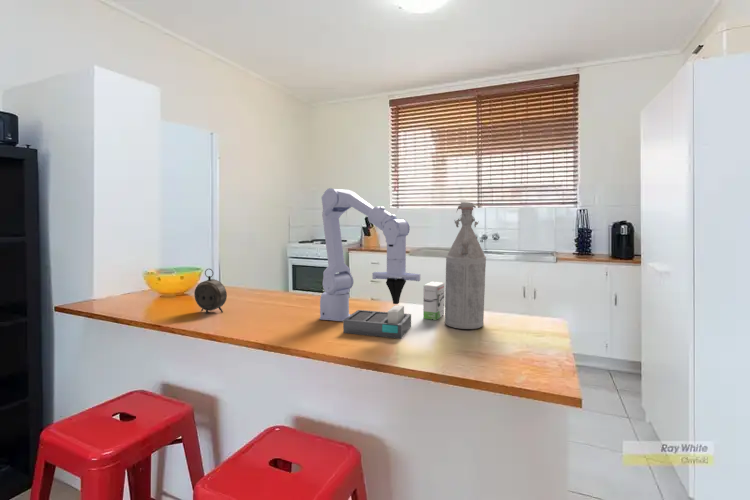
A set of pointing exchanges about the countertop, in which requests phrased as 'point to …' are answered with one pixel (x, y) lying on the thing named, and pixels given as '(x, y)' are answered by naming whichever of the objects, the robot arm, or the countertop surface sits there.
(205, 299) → the alarm clock
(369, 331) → the rack
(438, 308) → the ink box
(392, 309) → the block
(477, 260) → the grey bottle
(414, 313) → the countertop surface
